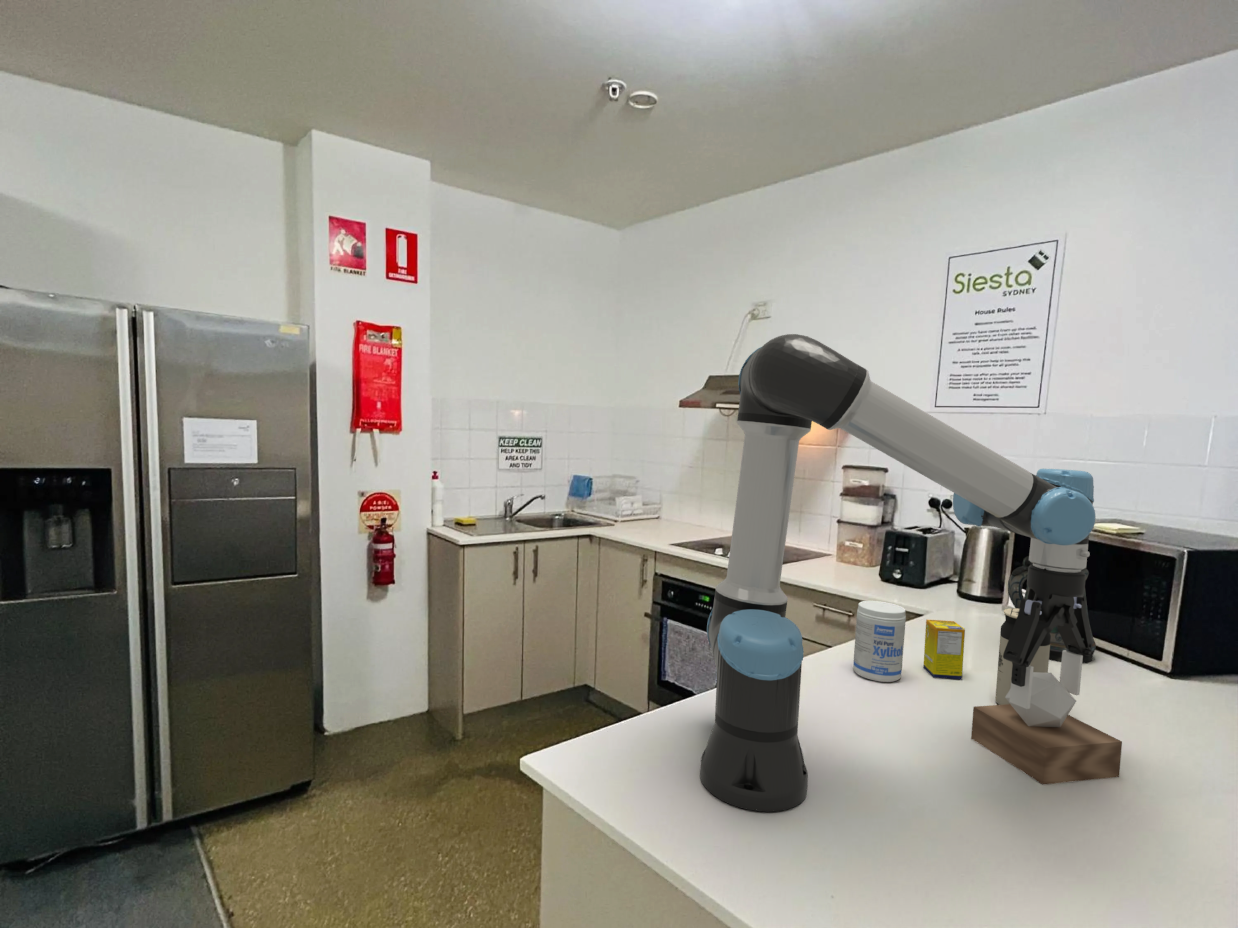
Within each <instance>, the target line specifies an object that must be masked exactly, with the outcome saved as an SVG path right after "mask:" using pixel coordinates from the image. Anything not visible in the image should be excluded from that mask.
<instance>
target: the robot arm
mask: <svg viewBox="0 0 1238 928" xmlns="http://www.w3.org/2000/svg"><path fill="white" fill-rule="evenodd" d="M870 376H871V375H870V373H869V370H868V369H866V368H865V367H862V366H861V365H859V364H857V363H856V362H854V361H853V360H851V359H849V358H848V357H846V356H844V355H843V354H841V353H840V352H837V351H836V350H835V349H833V348H831V347H829V346H827V345H826V344H824V343H822V342H821V341H820V340H819V341H818V340H817V339H814V338H812V337H810V336H806V335H802V334H797V333H792V334H790V333H786V334H782V335H778V336H776V337H774V338H772V339H770V340H768V341H767V342H766V343H765V344H763V345H762V346H760V347H758V348H756V349H755V350H754V351H753V352H751V354H750V355H748V357H747V358H746V360H745V361H744V362H743V364H742V367H741V368H740V370H739V375H738V382H737V385H738V391H739V396H740V397H739V405H738V411H737V421H736V423H737V425H738V426H739V428H741V430H742V431H743V433H744V439H743V447H742V454H741V456H742V457H741V462H740V471H739V476H738V477H739V478H738V486H737V495H736V500H735V509H734V516H733V525H732V533H731V540H730V548H729V554H728V555H729V557H728V565H727V570H726V577H725V578H724V580H722V581H721V582H719V583H718V584H716V586H715V592H714V599H713V606H712V609H711V612H710V613H709V617H708V618H707V625H706V636H707V637H706V638H707V640H708V643H709V647H710V649H711V653H712V657H713V660H714V664H715V669H716V691H715V706H714V707H715V711H714V724H713V727H712V730H711V732H710V735H709V738H708V741H707V744H706V747H705V749H704V750H703V753H702V755H701V758H700V767H699V770H700V771H699V777H700V781H701V783H702V784H703V786H704V787H705V789H706V790H707V791H708V792H709V793H711V794H712V795H713V796H714V797H716V798H717V799H719V800H721V801H723V802H725V803H727V804H729V805H731V806H735V807H738V808H741V809H745V810H749V811H755V812H756V811H757V812H769V813H770V812H780V811H784V810H788V809H789V810H790V809H792V808H795V807H796V806H798V805H799V804H801V803H802V802H804V800H805V799H806V798H807V794H808V786H809V785H808V784H809V775H808V770H807V766H806V764H805V760H804V759H805V758H804V753H803V750H802V747H801V744H800V739H799V736H798V735H799V734H798V732H799V731H798V730H799V729H798V728H799V717H800V715H799V714H800V712H799V711H800V699H801V698H800V697H801V683H802V682H801V681H802V680H801V679H802V667H803V666H802V665H803V664H802V663H803V661H804V647H803V646H804V645H803V635H802V632H801V630H800V628H799V627H798V626H797V624H796V623H795V622H794V621H792V619H790V618H787V617H786V614H787V608H788V607H787V606H788V595H786V594H785V592H784V591H783V589H782V588H781V577H782V571H783V563H784V556H785V548H786V540H787V534H788V526H789V519H790V511H791V503H792V497H793V488H794V483H795V482H794V481H795V476H796V475H795V473H796V466H797V459H798V452H799V445H800V444H799V443H800V441H801V440H802V438H803V437H804V436H806V435H807V434H808V433H810V432H811V428H812V423H814V424H815V423H816V424H817V425H819V426H821V427H823V428H824V429H826V430H829V431H831V430H836V429H841V430H842V431H844V432H846V433H847V434H849V435H851V436H854V437H855V438H857V439H858V440H861V441H862V442H864V443H865V444H867V445H869V446H871V447H872V448H874V449H876V450H878V451H880V452H881V453H883V454H885V455H886V456H888V457H890V458H891V459H894V460H895V461H898V462H899V463H901V464H903V465H904V466H906V467H908V468H910V469H911V470H913V471H915V472H917V474H920V475H922V476H924V477H926V478H927V479H929V480H931V481H933V482H934V483H936V484H937V485H939V486H941V487H943V488H945V489H946V490H949V491H950V492H952V493H953V495H952V508H953V513H954V515H955V518H956V519H957V521H958V522H960V523H962V524H963V525H967V526H968V525H970V526H976V527H978V528H979V527H980V528H981V527H991V528H997V529H1001V530H1004V531H1007V532H1011V533H1013V534H1017V535H1021V536H1025V537H1028V538H1030V542H1029V543H1030V545H1029V546H1030V547H1029V553H1028V556H1029V561H1030V562H1032V563H1033V564H1031V565H1030V566H1029V567H1028V576H1027V579H1026V587H1027V586H1028V587H1029V588H1030V589H1033V590H1034V592H1035V597H1034V600H1033V601H1032V600H1028V599H1024V598H1023V599H1021V602H1020V608H1019V614H1018V616H1017V619H1016V622H1015V624H1014V627H1013V630H1012V632H1011V635H1010V638H1009V640H1008V643H1007V646H1006V648H1005V651H1004V654H1003V658H1004V659H1006V660H1008V661H1011V662H1012V676H1011V688H1010V700H1009V702H1011V703H1013V704H1016V705H1018V706H1021V707H1023V708H1026V709H1029V708H1030V701H1031V690H1032V679H1033V666H1030V663H1031V662H1032V660H1033V658H1034V656H1035V654H1036V652H1037V650H1038V649H1039V647H1040V645H1041V643H1042V641H1043V639H1044V637H1045V636H1046V634H1047V633H1048V632H1051V631H1052V630H1053V628H1054V627H1057V628H1058V631H1059V633H1060V635H1061V637H1062V640H1063V642H1064V644H1065V646H1066V649H1067V650H1069V651H1066V650H1064V651H1062V662H1060V663H1061V664H1060V665H1061V666H1060V674H1059V675H1060V676H1059V682H1060V683H1061V684H1062V685H1063V686H1064V688H1065V689H1066V690H1067V691H1068V692H1069V693H1070V694H1071V695H1075V696H1080V691H1081V683H1082V682H1081V680H1082V671H1083V663H1082V661H1083V656H1082V654H1083V655H1087V656H1090V655H1091V650H1090V649H1091V648H1092V639H1091V634H1090V629H1089V624H1088V619H1087V613H1086V601H1087V596H1086V597H1085V596H1083V594H1084V590H1085V591H1086V580H1087V579H1086V574H1084V572H1083V571H1081V570H1082V569H1084V568H1086V569H1087V562H1088V560H1087V559H1088V558H1089V557H1090V556H1091V555H1090V553H1091V552H1090V551H1088V550H1089V540H1090V534H1091V532H1092V531H1093V529H1094V526H1095V523H1096V510H1095V507H1094V505H1093V504H1094V502H1095V499H1094V495H1095V494H1094V492H1095V491H1094V490H1095V489H1094V488H1095V486H1094V477H1093V475H1092V473H1089V472H1088V471H1084V470H1076V469H1060V468H1040V469H1038V470H1037V472H1036V474H1034V473H1032V472H1030V471H1029V470H1027V469H1025V468H1024V467H1022V466H1020V465H1018V464H1016V463H1015V462H1013V461H1011V460H1009V459H1007V458H1006V457H1004V456H1003V455H1001V454H999V453H998V452H996V451H994V450H992V449H990V448H989V447H987V446H985V445H983V444H982V443H980V442H979V441H976V440H975V439H973V438H971V437H969V436H968V435H966V434H964V433H962V432H961V431H959V430H957V429H955V428H954V427H952V426H950V425H948V424H947V423H945V422H943V421H942V420H940V419H938V418H936V417H934V416H933V415H931V414H929V413H928V412H926V411H924V410H922V409H921V408H919V407H917V406H916V405H913V404H911V403H910V402H908V401H906V400H905V399H903V398H901V397H900V396H898V395H896V394H895V393H893V392H891V391H888V389H885V388H884V387H882V386H880V385H878V384H877V383H875V382H873V381H872V380H871V377H870ZM1085 579H1086V580H1085ZM1028 614H1029V615H1028ZM1082 638H1084V640H1082Z"/></svg>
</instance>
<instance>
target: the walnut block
mask: <svg viewBox="0 0 1238 928" xmlns="http://www.w3.org/2000/svg"><path fill="white" fill-rule="evenodd" d="M972 708H973V710H972V723H971V738H970V739H971V740H973V741H974V742H976V743H977V744H979V745H980V746H982V747H984V748H985V749H987V750H988V751H990V752H991V753H993V754H995V755H996V756H998V757H999V758H1001V759H1002V760H1003V761H1005V762H1006V763H1008V764H1010V765H1011V766H1012V767H1015V768H1016V769H1017V770H1019V771H1021V772H1022V773H1024V774H1025V775H1027V776H1029V777H1030V778H1032V779H1033V780H1035V781H1036V782H1038V783H1039V784H1041V785H1051V784H1053V785H1054V784H1064V783H1073V782H1081V781H1082V782H1083V781H1084V782H1085V781H1092V780H1093V781H1094V780H1100V779H1102V780H1103V779H1112V778H1113V779H1114V778H1119V777H1120V771H1121V770H1120V769H1121V760H1122V749H1123V741H1122V740H1120V739H1118V738H1116V737H1114V736H1112V735H1110V734H1108V733H1106V732H1103V731H1102V730H1100V729H1098V728H1095V726H1094V727H1093V726H1092V725H1090V724H1088V723H1087V722H1086V723H1085V722H1083V721H1082V720H1080V719H1078V718H1076V717H1074V716H1072V715H1069V714H1068V715H1067V717H1066V719H1065V720H1064V722H1063V723H1062V725H1061V727H1035V726H1028V725H1027V724H1026V723H1025V722H1024V720H1023V719H1022V718H1021V717H1020V715H1019V714H1018V713H1017V712H1016V710H1015V709H1014V708H1013V707H1012V705H1011V704H1005V705H999V704H993V705H980V706H979V705H977V706H973V707H972Z"/></svg>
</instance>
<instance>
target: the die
mask: <svg viewBox="0 0 1238 928" xmlns="http://www.w3.org/2000/svg"><path fill="white" fill-rule="evenodd" d="M1072 695H1073V694H1071V693H1069V692H1068V691H1067V690H1066V689H1065V688H1064V686H1063V685H1062V684H1061V683H1060V680H1058V678H1057V677H1056V676H1055V675H1054V674H1053V673H1052V672H1048V673H1041V672H1033V679H1032V690H1031V701H1030V708H1029V709H1026V708H1023V707H1021V706H1018V705H1016V704H1013V703H1011V702H1009V700H1010V690H1009V692H1008V693H1007V695H1006V697H1005V698H1006V699H1007V701H1008V702H1009V703H1010V704H1011V705H1012V707H1013V708H1014V709H1015V710H1016V712H1017V713H1018V714H1019V715H1020V717H1021V718H1022V719H1023V720H1024V722H1025V723H1026V724H1027V725H1028V726H1035V727H1061V725H1062V723H1063V722H1064V720H1065V719H1066V717H1067V715H1069V714H1070V712H1071V710H1073V707H1075V704H1076V702H1077V700H1076V699H1075V697H1074V696H1072Z"/></svg>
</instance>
